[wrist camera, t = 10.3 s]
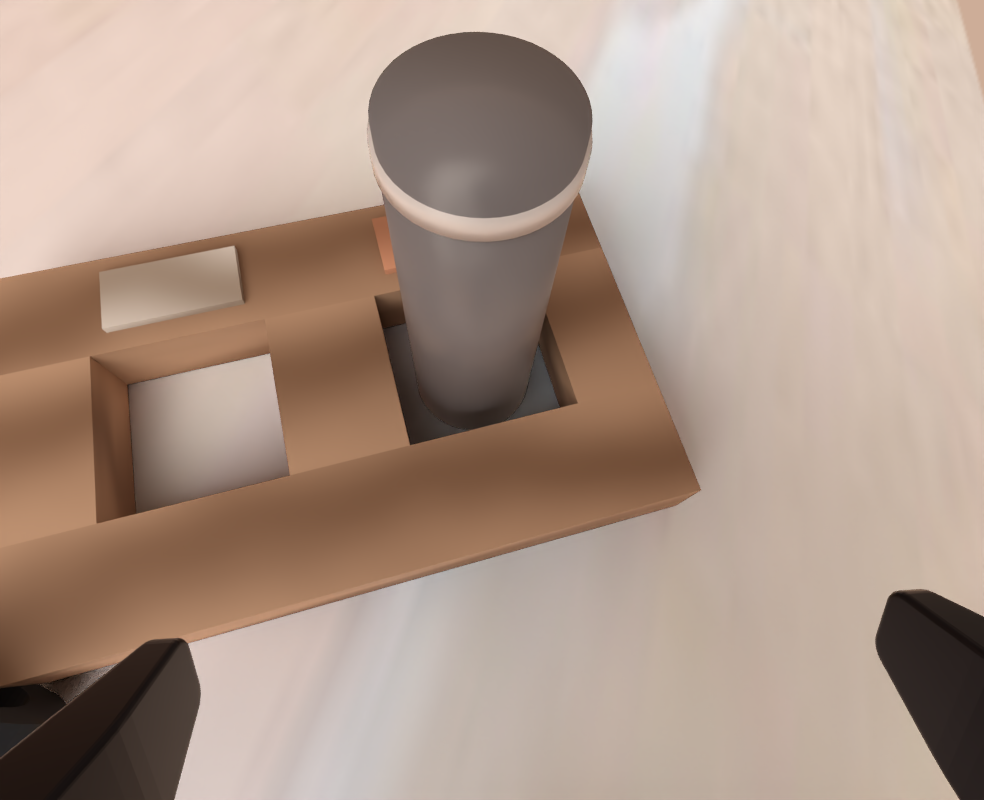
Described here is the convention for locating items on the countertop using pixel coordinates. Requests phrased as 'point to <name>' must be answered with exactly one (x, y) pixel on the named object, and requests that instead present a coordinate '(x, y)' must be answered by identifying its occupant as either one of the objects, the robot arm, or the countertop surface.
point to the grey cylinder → (477, 208)
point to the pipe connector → (24, 712)
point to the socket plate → (289, 440)
